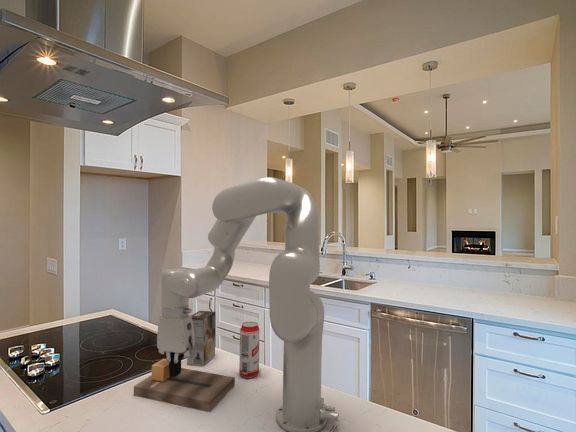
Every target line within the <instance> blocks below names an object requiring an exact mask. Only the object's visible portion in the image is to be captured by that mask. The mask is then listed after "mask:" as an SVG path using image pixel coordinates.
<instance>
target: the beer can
mask: <svg viewBox="0 0 576 432" xmlns="http://www.w3.org/2000/svg"><path fill="white" fill-rule="evenodd" d="M260 332H261V330H260V327H259V324H258V322H257V321H245V322H242V323H241V327H240V329H239V367H238V368H239V369H238V370H239V374H240V376H241V377H242V378H245V379H253V378H255V377H257V375H258V374H259V373H260V334H261V333H260Z"/></svg>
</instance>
